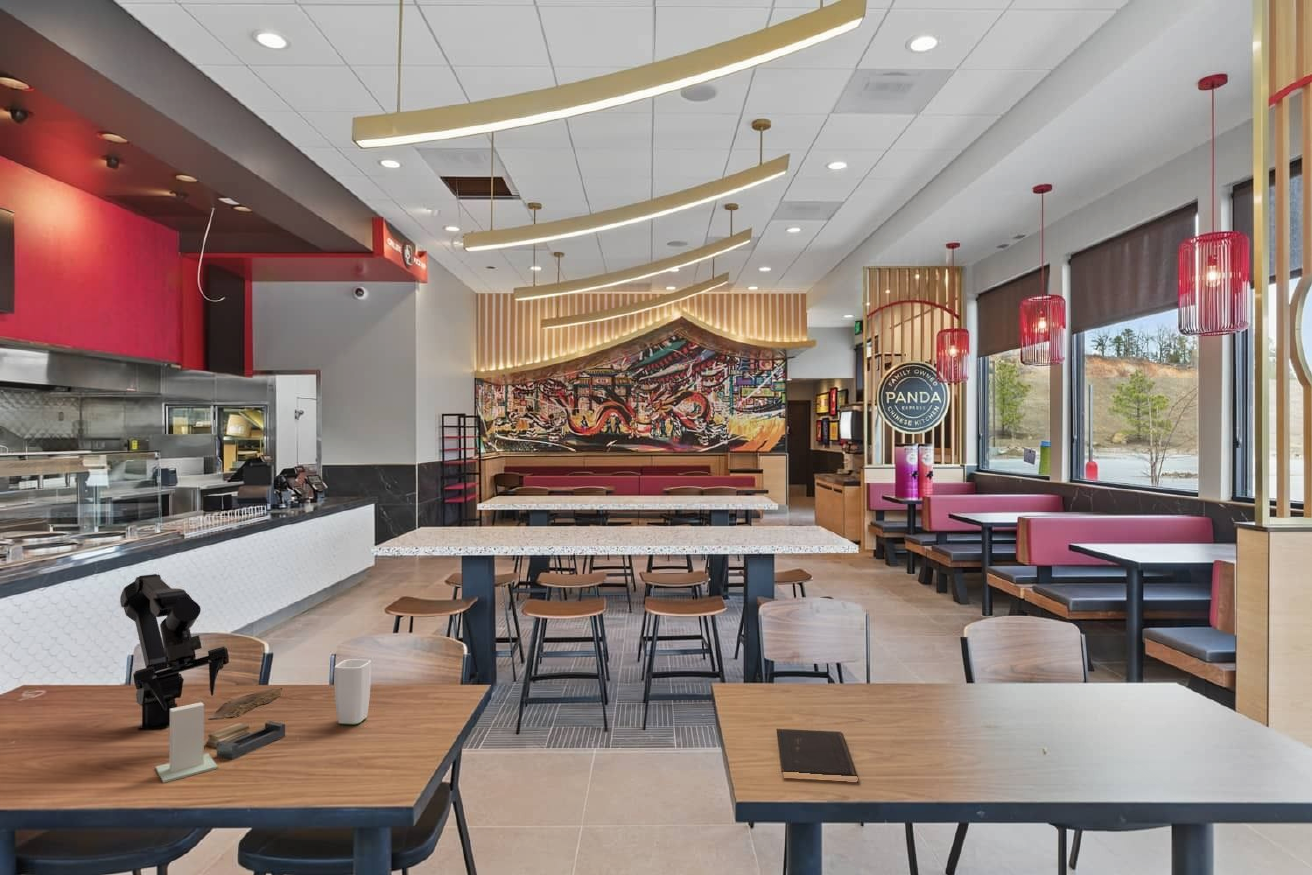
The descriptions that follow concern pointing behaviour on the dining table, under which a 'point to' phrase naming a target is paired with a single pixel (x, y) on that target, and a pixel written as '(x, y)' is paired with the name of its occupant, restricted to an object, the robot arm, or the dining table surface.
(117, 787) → the dining table surface
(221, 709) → the carved relief fragment
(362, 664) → the cup
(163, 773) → the sage mat
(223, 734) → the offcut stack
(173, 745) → the tall block
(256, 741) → the slot rack
